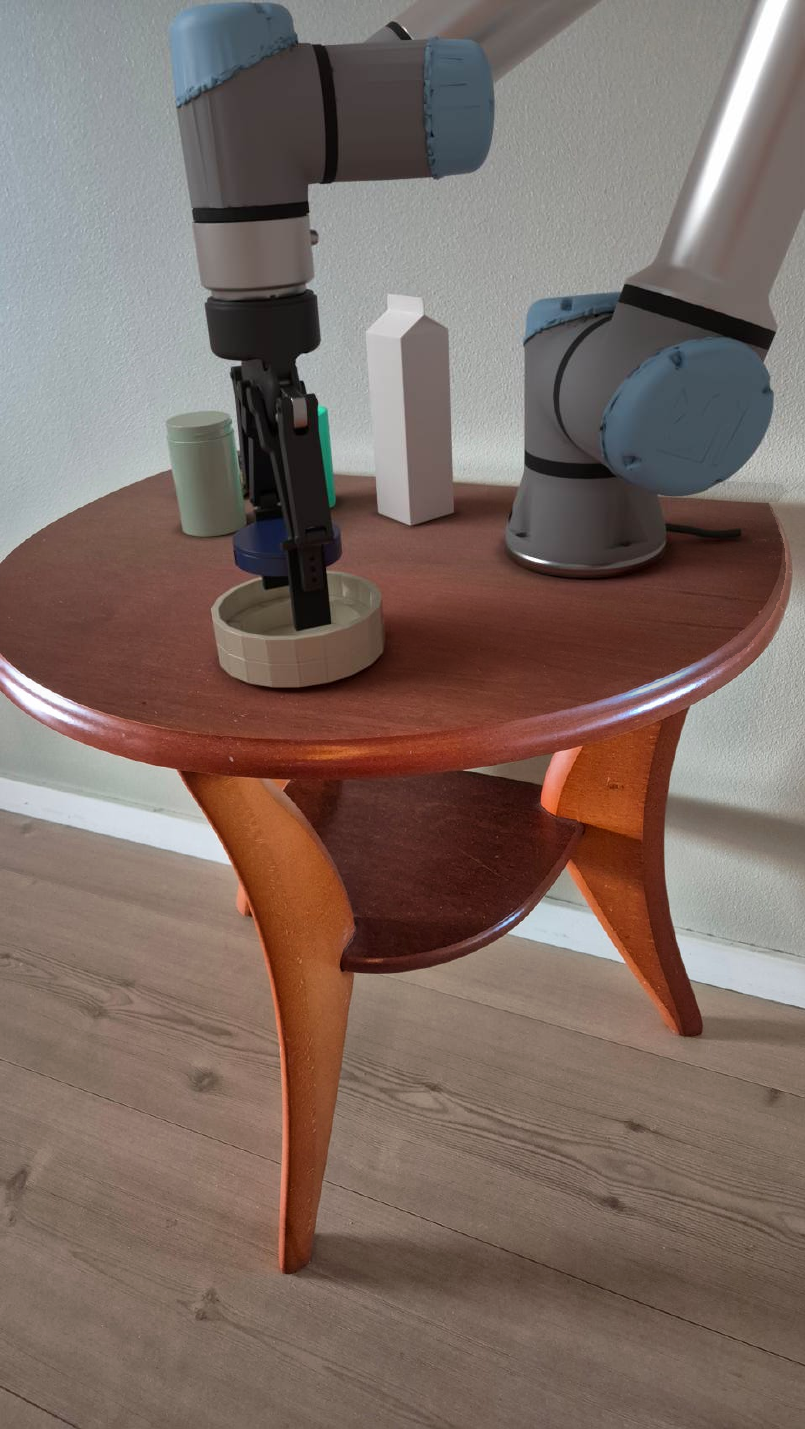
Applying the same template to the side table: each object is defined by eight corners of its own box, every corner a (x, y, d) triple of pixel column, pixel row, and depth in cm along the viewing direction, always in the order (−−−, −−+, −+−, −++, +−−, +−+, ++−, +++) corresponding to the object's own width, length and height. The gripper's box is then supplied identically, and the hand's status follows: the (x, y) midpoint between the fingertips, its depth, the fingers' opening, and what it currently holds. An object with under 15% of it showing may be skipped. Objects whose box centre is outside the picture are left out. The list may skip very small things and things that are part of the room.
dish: (410, 629, 82) (407, 578, 80) (340, 704, 72) (335, 649, 69) (271, 611, 87) (265, 563, 85) (187, 679, 76) (177, 626, 74)
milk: (410, 527, 104) (397, 302, 93) (377, 513, 108) (361, 297, 97) (455, 513, 107) (448, 293, 96) (421, 500, 111) (410, 289, 100)
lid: (249, 585, 71) (246, 561, 70) (223, 549, 77) (220, 527, 76) (357, 563, 73) (355, 540, 72) (323, 531, 80) (321, 509, 79)
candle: (272, 505, 112) (259, 397, 106) (314, 492, 116) (303, 387, 110) (304, 516, 108) (292, 405, 102) (346, 503, 112) (337, 394, 106)
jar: (258, 517, 109) (244, 412, 103) (225, 539, 104) (208, 428, 98) (204, 512, 112) (188, 409, 106) (169, 533, 106) (149, 425, 100)
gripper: (367, 301, 58) (389, 647, 70) (271, 271, 75) (302, 553, 87) (244, 315, 56) (287, 670, 68) (173, 281, 73) (218, 569, 84)
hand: (295, 604), depth 77 cm, fingers closed on lid, 8 cm apart
